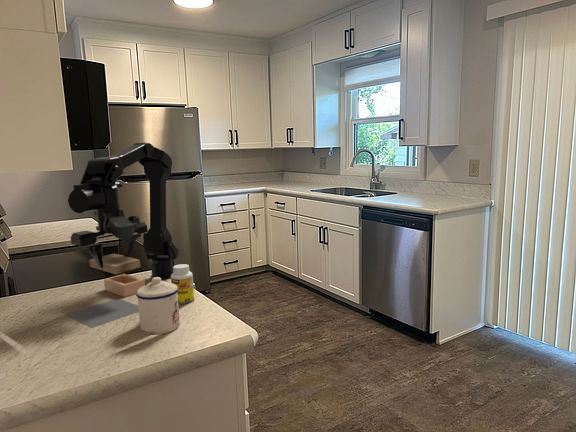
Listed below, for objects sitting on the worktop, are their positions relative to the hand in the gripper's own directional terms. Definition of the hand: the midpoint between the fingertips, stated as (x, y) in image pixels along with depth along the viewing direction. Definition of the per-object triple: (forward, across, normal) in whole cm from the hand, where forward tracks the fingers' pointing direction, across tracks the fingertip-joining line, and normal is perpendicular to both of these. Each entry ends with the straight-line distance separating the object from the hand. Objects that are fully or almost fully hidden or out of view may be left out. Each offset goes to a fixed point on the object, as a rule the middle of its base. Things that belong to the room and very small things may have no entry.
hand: (114, 264), depth 113 cm
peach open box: (+11, +5, +5) cm, 13 cm away
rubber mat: (+10, -7, -7) cm, 14 cm away
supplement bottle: (+11, +9, -17) cm, 22 cm away
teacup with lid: (+10, -3, -24) cm, 26 cm away
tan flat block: (+1, 0, 0) cm, 1 cm away
